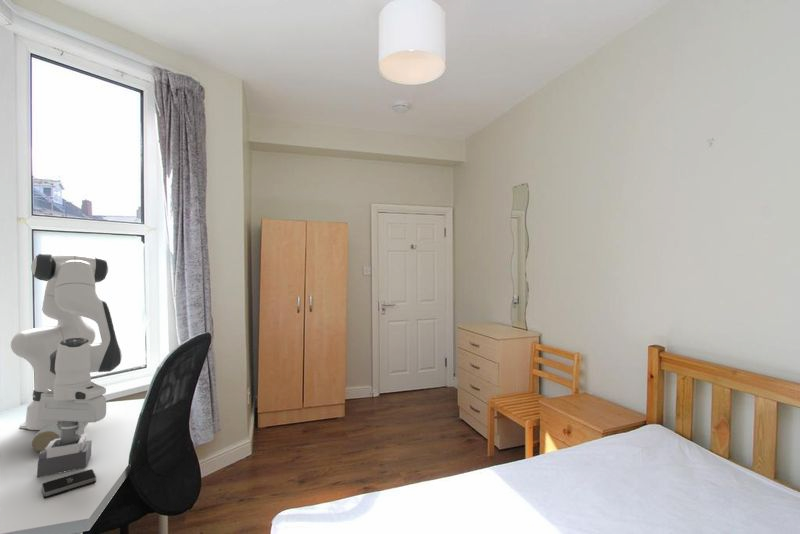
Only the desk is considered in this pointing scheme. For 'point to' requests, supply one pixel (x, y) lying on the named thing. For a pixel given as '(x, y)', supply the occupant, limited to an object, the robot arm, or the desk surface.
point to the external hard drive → (68, 483)
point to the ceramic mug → (45, 437)
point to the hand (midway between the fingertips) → (70, 434)
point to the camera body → (64, 456)
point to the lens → (69, 433)
